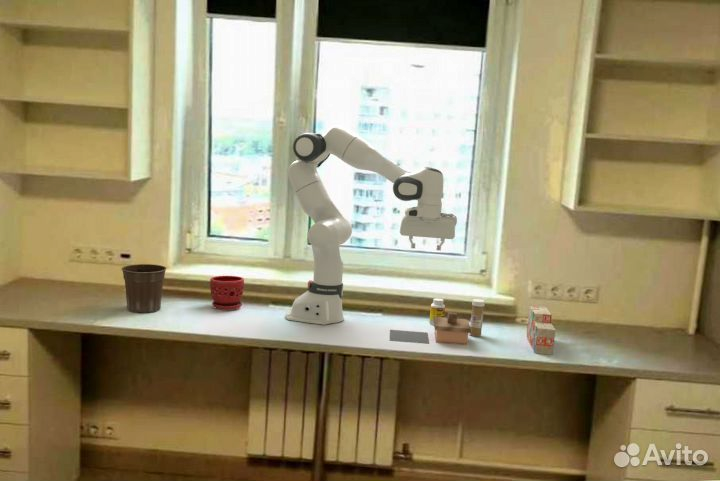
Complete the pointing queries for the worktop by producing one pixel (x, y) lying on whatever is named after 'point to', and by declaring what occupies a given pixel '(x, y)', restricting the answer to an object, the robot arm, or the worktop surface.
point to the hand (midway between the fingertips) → (425, 249)
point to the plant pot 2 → (227, 292)
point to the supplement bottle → (437, 309)
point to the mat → (409, 336)
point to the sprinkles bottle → (477, 317)
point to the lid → (452, 323)
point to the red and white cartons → (540, 330)
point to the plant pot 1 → (143, 287)
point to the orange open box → (451, 337)
